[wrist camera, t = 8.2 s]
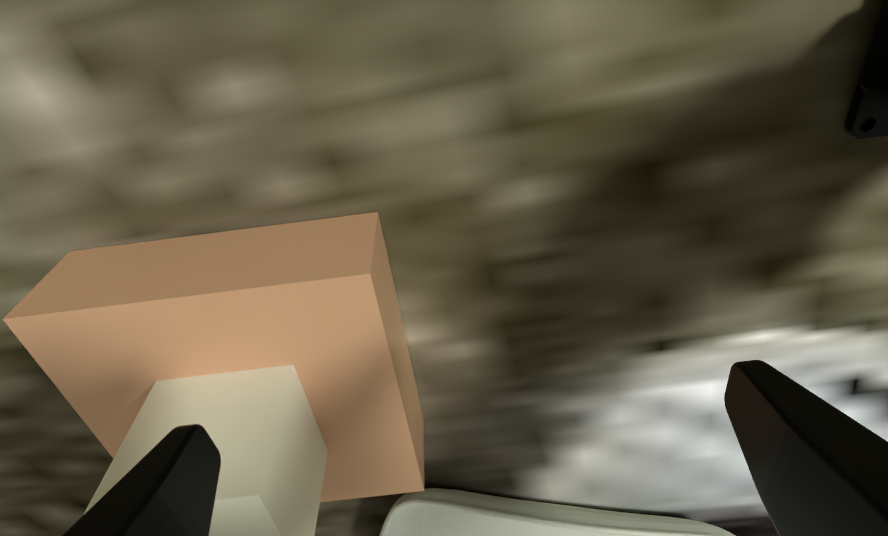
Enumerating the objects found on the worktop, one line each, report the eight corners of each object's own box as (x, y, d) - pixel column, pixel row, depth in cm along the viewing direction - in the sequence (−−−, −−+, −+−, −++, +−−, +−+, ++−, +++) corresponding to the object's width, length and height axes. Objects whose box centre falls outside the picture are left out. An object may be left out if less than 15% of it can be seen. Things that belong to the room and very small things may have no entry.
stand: (377, 211, 20) (370, 273, 17) (423, 418, 27) (424, 490, 23) (69, 251, 20) (2, 319, 17) (192, 444, 27) (161, 519, 24)
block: (293, 364, 19) (258, 495, 15) (327, 451, 22) (307, 580, 17) (156, 380, 19) (83, 514, 15) (208, 464, 22) (159, 595, 18)
